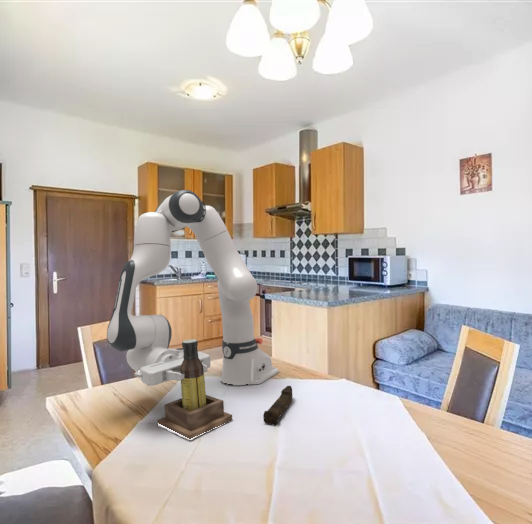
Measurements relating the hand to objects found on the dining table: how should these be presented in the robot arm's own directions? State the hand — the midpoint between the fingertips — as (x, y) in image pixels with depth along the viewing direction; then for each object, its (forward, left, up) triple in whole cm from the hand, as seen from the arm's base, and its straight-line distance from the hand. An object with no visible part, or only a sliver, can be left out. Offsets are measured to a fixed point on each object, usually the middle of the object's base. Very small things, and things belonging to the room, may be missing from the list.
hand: (194, 373), depth 98 cm
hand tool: (-20, +13, -14) cm, 27 cm away
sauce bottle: (0, -1, -12) cm, 12 cm away
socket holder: (0, -1, -14) cm, 14 cm away
